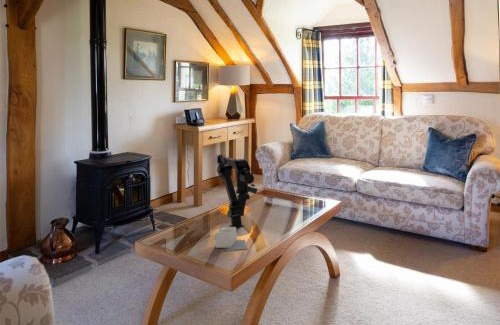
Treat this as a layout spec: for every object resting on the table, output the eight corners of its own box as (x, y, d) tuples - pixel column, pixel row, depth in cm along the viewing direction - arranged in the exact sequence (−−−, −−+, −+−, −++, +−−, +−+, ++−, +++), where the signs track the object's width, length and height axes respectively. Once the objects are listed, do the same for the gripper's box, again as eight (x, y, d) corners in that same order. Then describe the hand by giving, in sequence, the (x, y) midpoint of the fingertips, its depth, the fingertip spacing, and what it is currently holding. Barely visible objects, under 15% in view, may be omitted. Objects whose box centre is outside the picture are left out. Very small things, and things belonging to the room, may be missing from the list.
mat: (223, 242, 210) (223, 241, 210) (244, 240, 211) (244, 239, 211) (224, 251, 196) (224, 250, 196) (247, 249, 197) (247, 248, 197)
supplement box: (236, 226, 210) (228, 234, 198) (237, 240, 211) (229, 248, 199) (222, 226, 212) (214, 233, 200) (223, 239, 213) (215, 248, 201)
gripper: (258, 183, 214) (259, 211, 216) (254, 177, 233) (256, 203, 235) (237, 184, 213) (239, 213, 215) (235, 179, 232) (237, 205, 234)
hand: (243, 208), depth 225 cm, fingers closed
